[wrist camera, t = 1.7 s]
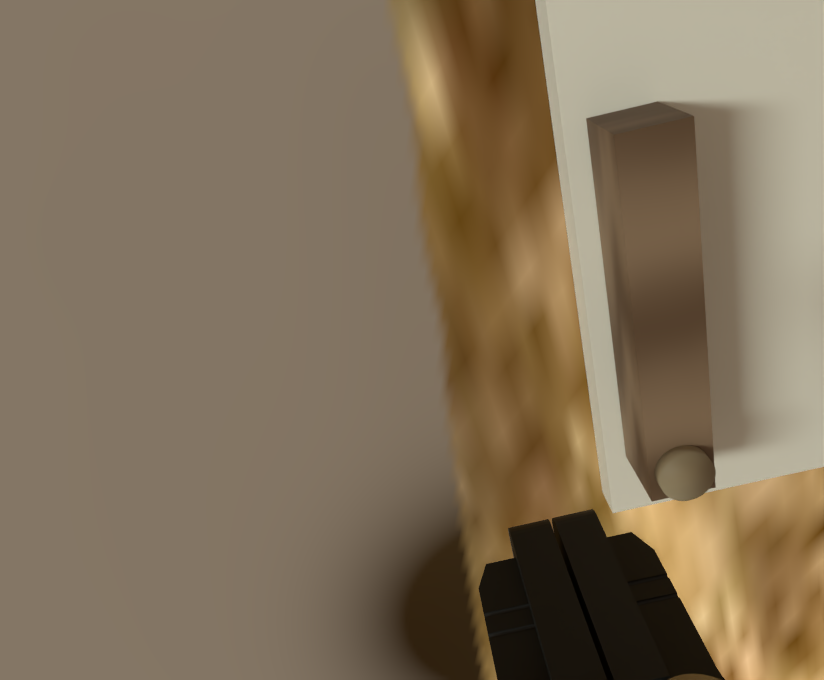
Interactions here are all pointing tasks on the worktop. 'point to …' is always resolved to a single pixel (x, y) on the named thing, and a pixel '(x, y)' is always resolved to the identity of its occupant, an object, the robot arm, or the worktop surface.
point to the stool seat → (710, 209)
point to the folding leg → (656, 293)
